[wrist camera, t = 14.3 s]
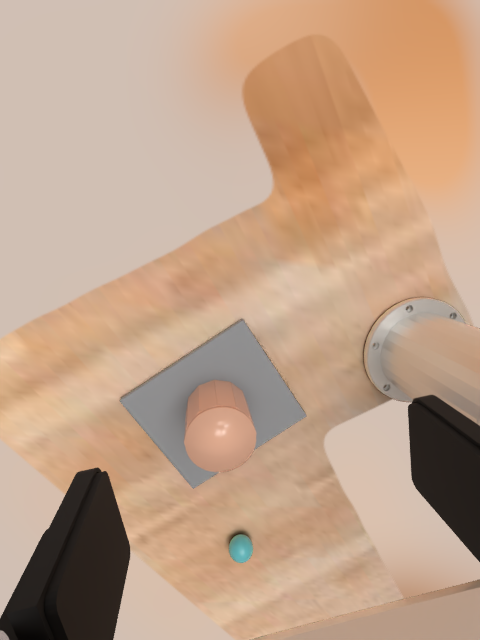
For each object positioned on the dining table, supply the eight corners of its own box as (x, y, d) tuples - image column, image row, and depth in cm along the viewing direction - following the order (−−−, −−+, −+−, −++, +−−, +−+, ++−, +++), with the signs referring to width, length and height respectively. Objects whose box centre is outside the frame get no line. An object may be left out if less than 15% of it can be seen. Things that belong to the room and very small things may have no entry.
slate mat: (242, 318, 39) (243, 320, 38) (304, 412, 42) (306, 416, 42) (121, 397, 39) (119, 401, 38) (193, 484, 43) (193, 488, 42)
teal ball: (253, 529, 45) (256, 549, 43) (248, 548, 46) (252, 569, 43) (230, 527, 45) (232, 548, 42) (226, 547, 46) (228, 568, 43)
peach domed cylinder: (252, 384, 40) (262, 412, 34) (240, 438, 41) (249, 475, 35) (191, 376, 39) (190, 404, 33) (182, 432, 40) (179, 469, 34)
